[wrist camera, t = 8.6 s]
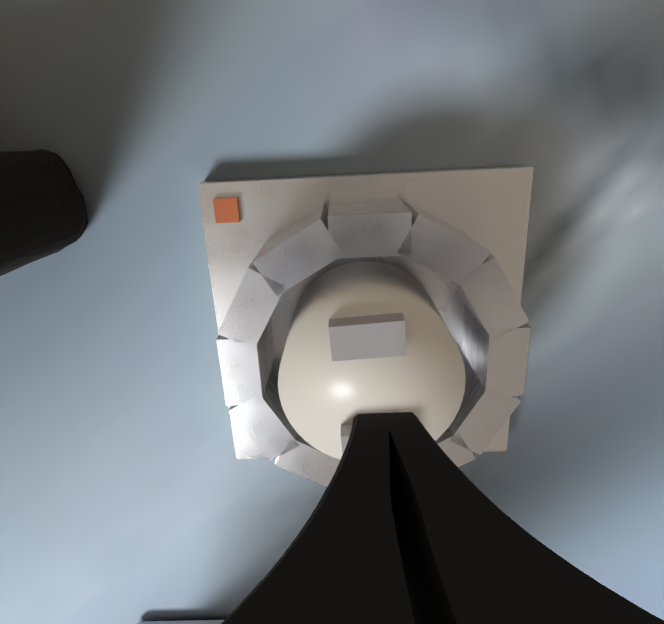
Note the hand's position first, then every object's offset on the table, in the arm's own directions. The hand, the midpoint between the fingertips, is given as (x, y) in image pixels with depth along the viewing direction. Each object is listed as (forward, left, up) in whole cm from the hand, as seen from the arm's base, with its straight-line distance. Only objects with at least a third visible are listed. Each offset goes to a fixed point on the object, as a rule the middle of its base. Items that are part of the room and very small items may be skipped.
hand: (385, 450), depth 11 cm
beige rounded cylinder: (0, 0, -7) cm, 7 cm away
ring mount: (0, 0, -8) cm, 8 cm away
